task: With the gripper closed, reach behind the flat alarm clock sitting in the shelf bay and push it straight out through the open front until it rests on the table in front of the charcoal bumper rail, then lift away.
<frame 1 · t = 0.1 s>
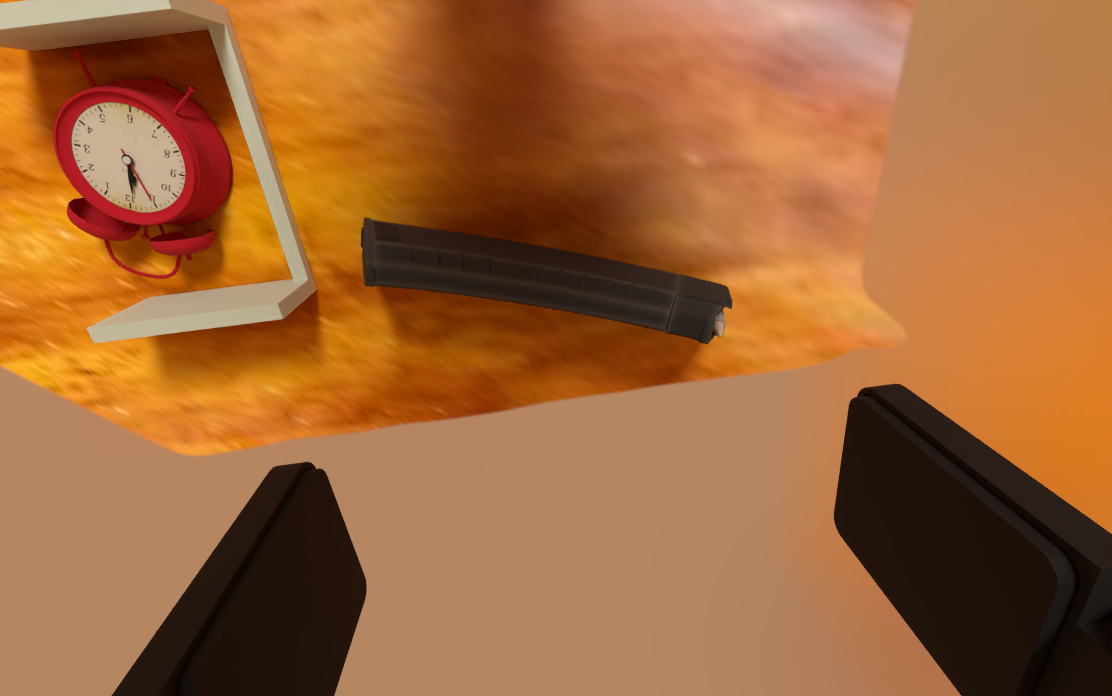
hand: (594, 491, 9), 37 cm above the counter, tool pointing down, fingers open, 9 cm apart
shelf bay: (186, 174, 40), on the counter
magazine: (546, 263, 45), on the counter
alarm clock: (163, 176, 41), on the counter
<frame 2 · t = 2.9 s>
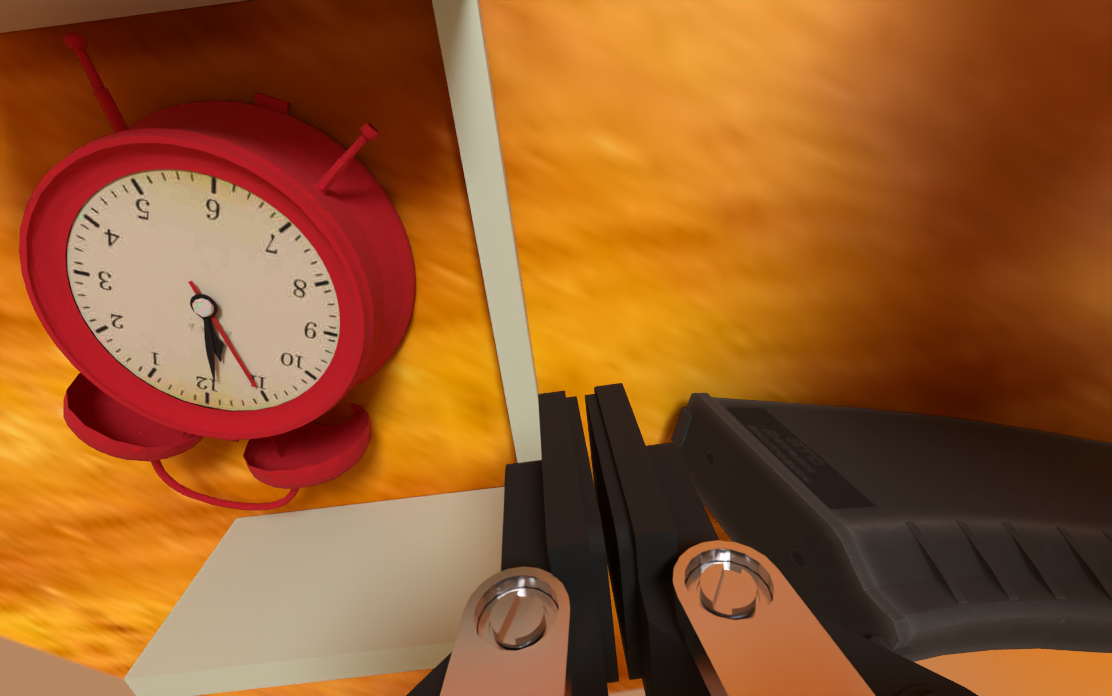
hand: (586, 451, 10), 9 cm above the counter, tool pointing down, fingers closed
shelf bay: (329, 304, 19), on the counter
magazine: (994, 450, 23), on the counter
alarm clock: (267, 306, 19), on the counter
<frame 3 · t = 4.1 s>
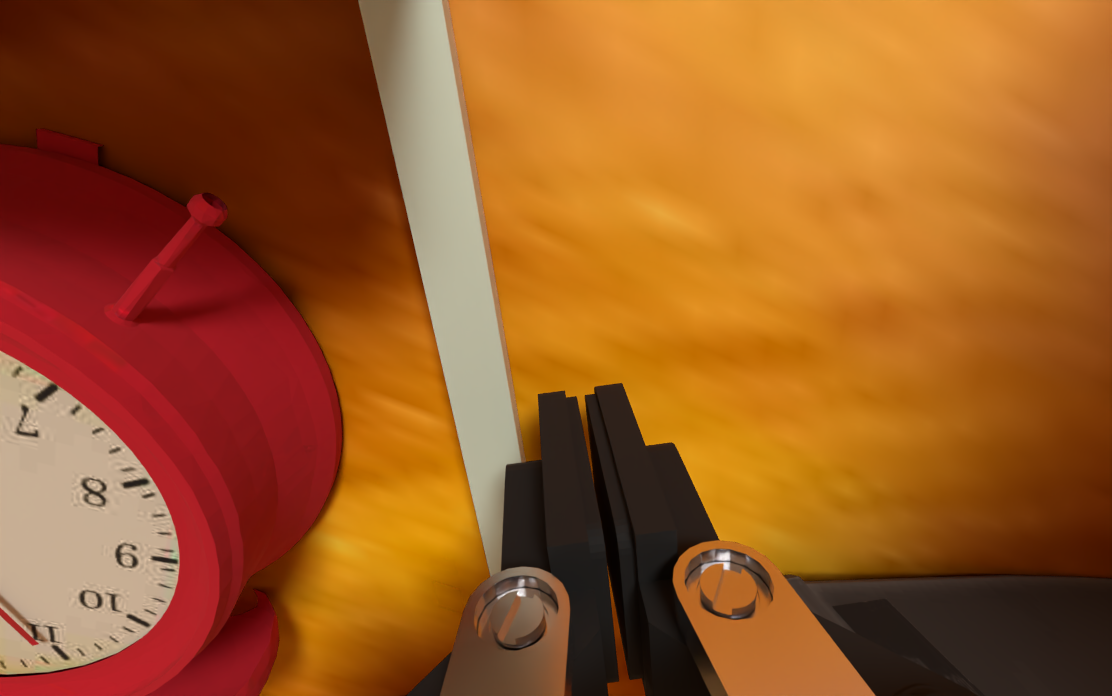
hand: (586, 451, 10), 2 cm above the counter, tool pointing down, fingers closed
shelf bay: (212, 457, 12), on the counter
alarm clock: (110, 455, 12), on the counter
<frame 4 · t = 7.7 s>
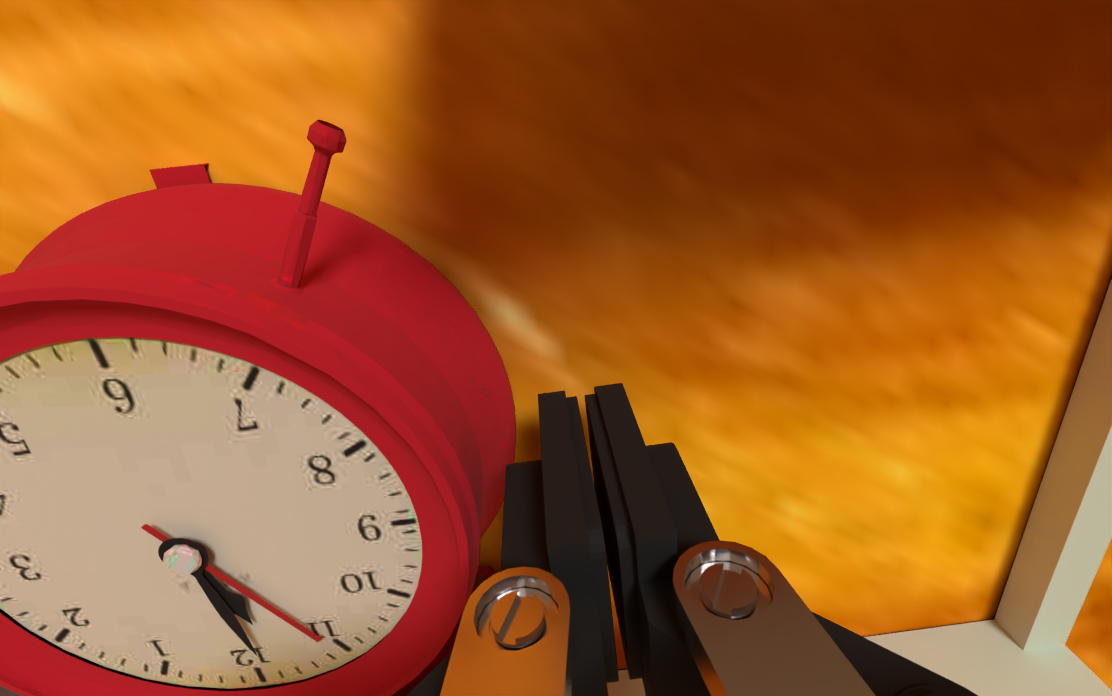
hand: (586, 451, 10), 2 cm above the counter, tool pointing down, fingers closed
shelf bay: (839, 377, 12), on the counter
alarm clock: (310, 475, 13), on the counter
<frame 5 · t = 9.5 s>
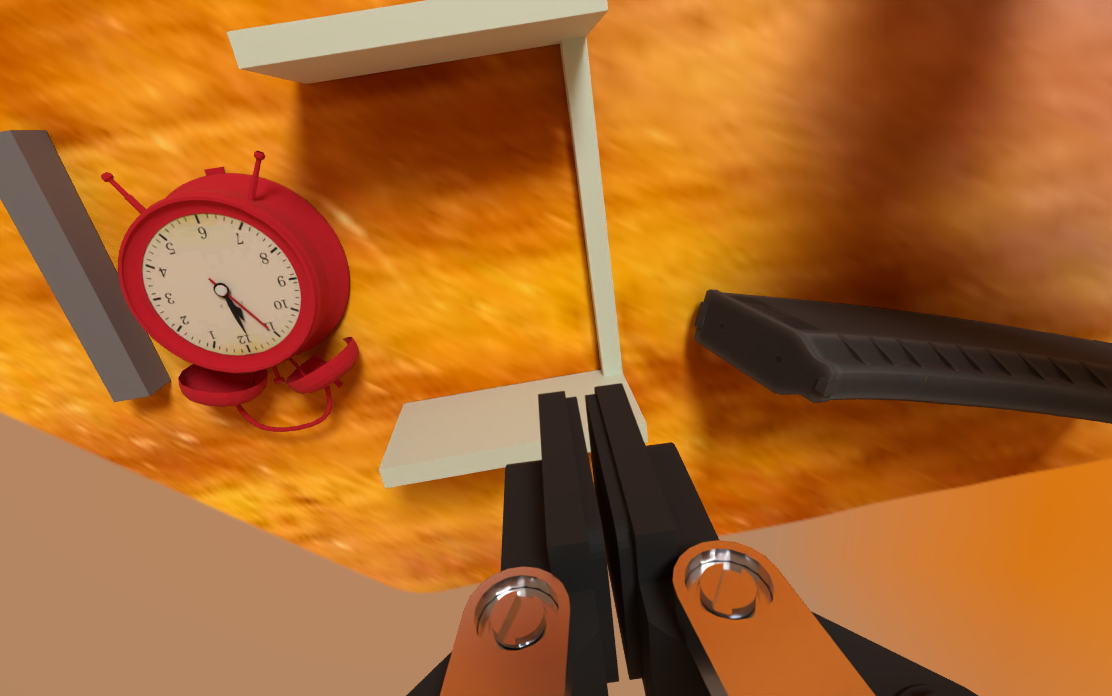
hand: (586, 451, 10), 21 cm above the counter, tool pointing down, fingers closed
shelf bay: (482, 243, 30), on the counter
bumper rail: (96, 270, 28), on the counter
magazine: (908, 332, 35), on the counter
alarm clock: (268, 296, 30), on the counter
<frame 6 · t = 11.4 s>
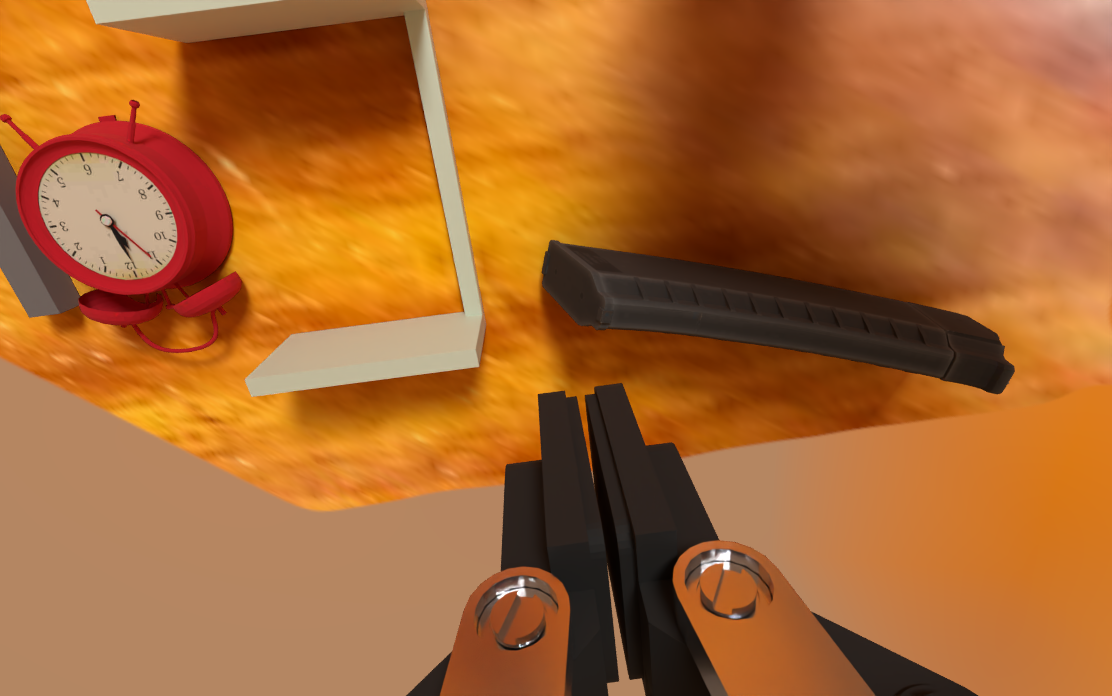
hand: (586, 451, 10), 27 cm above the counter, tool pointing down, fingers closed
shelf bay: (352, 191, 34), on the counter
bumper rail: (12, 201, 33), on the counter
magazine: (745, 290, 39), on the counter
alarm clock: (163, 233, 35), on the counter
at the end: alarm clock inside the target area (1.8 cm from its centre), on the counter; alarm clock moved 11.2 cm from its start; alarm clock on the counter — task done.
